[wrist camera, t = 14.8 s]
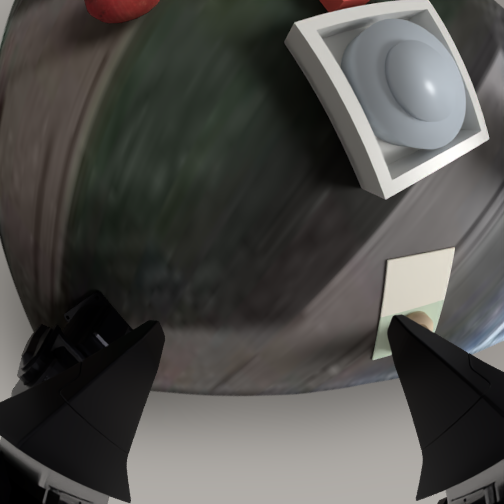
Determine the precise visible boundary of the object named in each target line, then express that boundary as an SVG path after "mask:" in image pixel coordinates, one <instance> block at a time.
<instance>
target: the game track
mask: <svg viewBox="0 0 504 504" xmlns="http://www.w3.org/2000/svg"><path fill="white" fill-rule="evenodd" d="M454 250H455V247H450V248H445V249H441V250H436V251H430V252H425V253H420V254H415V255H410V256H405V257H399V258H394V259H388V260H387V266H386V276H385V285H384V293H383V300H382V307H381V314H380V320H379V326H378V331H377V337H376V342H375V347H374V352H373V356H372V360H376V359H379V358H383V357H386V356H389V355H392V352H391V348H390V344H389V340H388V336H387V330H388V327H389V324H390V322H391V319H392V317H393V316H394V315H400V314H402V315H404V316H407V315H408V314H410V313H413V312H416V311H423V312H425V313H426V314H427V315H428V316H429V317H430V318H431V320H432V321H433V331H432V332H434V333H435V330H436V327H437V323H438V320H439V317H440V313H441V310H442V306H443V302H444V298H445V294H446V290H447V286H448V282H449V277H450V272H451V267H452V262H453V256H454Z"/></svg>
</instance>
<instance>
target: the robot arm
mask: <svg viewBox="0 0 504 504" xmlns="http://www.w3.org/2000/svg"><path fill="white" fill-rule="evenodd" d="M96 295H97V296H98V297H99V298H98V297H97V296H96ZM64 317H65V319H66V320H67V321H68V322H69V323H68V324H67V325H66V327H65V328H64V330H63V331H61V328H60V327H59V326H58V325H57V324H56V325H55V326H53V327H52V328H49V327H47V326H45V325H43V324H41V325H40V326H39V327H38V328H37V329H36V330H35V332H34V333H33V334H32V336H31V337H30V339H29V340H28V342H27V344H26V346H25V349H24V351H23V353H22V358H21V362H20V366H19V370H18V374H17V376H18V377H19V378H20V380H19V381H18V383H17V384H16V386H15V387H14V388H13V390H12V397H10V398H8V399H6V400H4V401H2V402H0V436H2V437H1V440H0V504H107V503H108V499H109V496H110V497H113V498H116V499H119V500H122V501H125V502H128V503H130V502H131V498H130V491H129V484H128V476H127V457H128V453H129V451H130V448H131V444H132V442H133V438H134V436H135V433H136V430H137V427H138V424H139V421H140V418H141V415H142V412H143V409H144V406H145V404H146V401H147V398H148V395H149V392H150V390H151V387H152V384H153V381H154V379H155V376H156V373H157V370H158V367H159V363H160V359H161V354H162V350H163V346H164V342H165V335H164V332H163V330H162V327H161V325H160V323H159V321H154V320H149V321H147V322H145V323H144V324H142V325H140V326H139V327H137V328H136V329H134V330H133V329H132V328H131V327H130V326H129V325H128V324H127V323H126V322H125V321H124V319H123V318H122V317H121V316H120V315H119V314H118V312H117V311H116V310H115V309H114V308H113V307H112V305H111V304H110V303H109V302H108V301H107V299H106V298H105V297H104V296H103V294H102V293H101V292H99V291H95V292H94V293H92V294H91V295H89V296H88V297H86V298H85V299H84V300H82V301H81V302H79V303H78V304H77V305H75V306H74V307H72V308H71V309H70V310H68V311H67V312H66V313H65V314H64ZM387 336H388V340H389V344H390V348H391V352H392V357H393V361H394V364H395V368H396V370H397V373H398V376H399V379H400V382H401V385H402V387H403V390H404V393H405V396H406V399H407V402H408V406H409V409H410V412H411V415H412V418H413V422H414V425H415V428H416V432H417V436H418V439H419V443H420V446H421V450H422V455H423V465H422V471H421V476H420V482H419V486H418V491H417V496H416V501H418V500H421V499H423V498H426V497H429V496H432V495H434V494H437V493H439V492H442V491H444V490H446V494H447V497H446V498H443V499H441V500H439V502H438V504H504V372H502V371H501V370H499V369H497V368H495V367H493V366H491V365H489V364H487V363H485V362H483V361H482V360H480V359H478V358H476V357H475V356H473V355H471V354H470V353H469V354H468V353H467V352H466V351H464V350H462V349H461V348H459V347H457V346H456V345H454V344H452V343H451V342H449V341H447V340H446V339H444V338H442V337H441V336H439V335H437V334H435V333H434V332H432V331H430V330H429V329H427V328H425V327H423V326H422V325H420V324H418V323H417V322H415V321H413V320H411V319H410V318H408V317H406V316H404V315H402V314H400V315H394V316H393V317H392V319H391V322H390V324H389V327H388V330H387Z"/></svg>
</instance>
